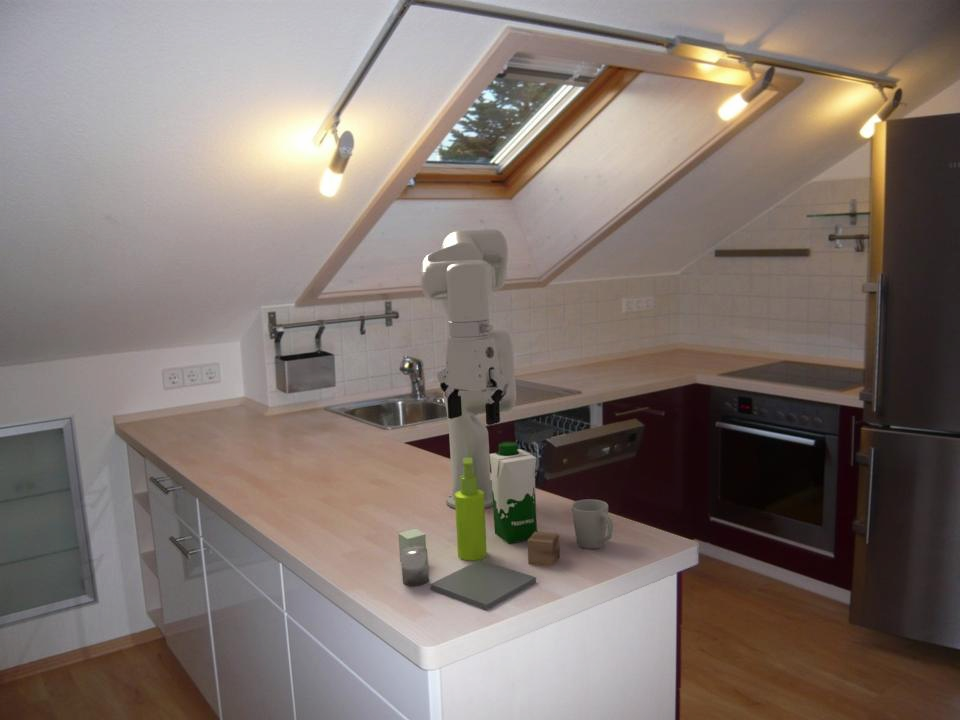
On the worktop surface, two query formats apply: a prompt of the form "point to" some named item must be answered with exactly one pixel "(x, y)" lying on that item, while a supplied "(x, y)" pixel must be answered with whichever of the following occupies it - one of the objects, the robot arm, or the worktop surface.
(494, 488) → the milk carton
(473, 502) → the lime spray bottle
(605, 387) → the worktop surface
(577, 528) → the cup
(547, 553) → the walnut block
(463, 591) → the plate
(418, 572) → the metal tin
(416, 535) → the pale green box
